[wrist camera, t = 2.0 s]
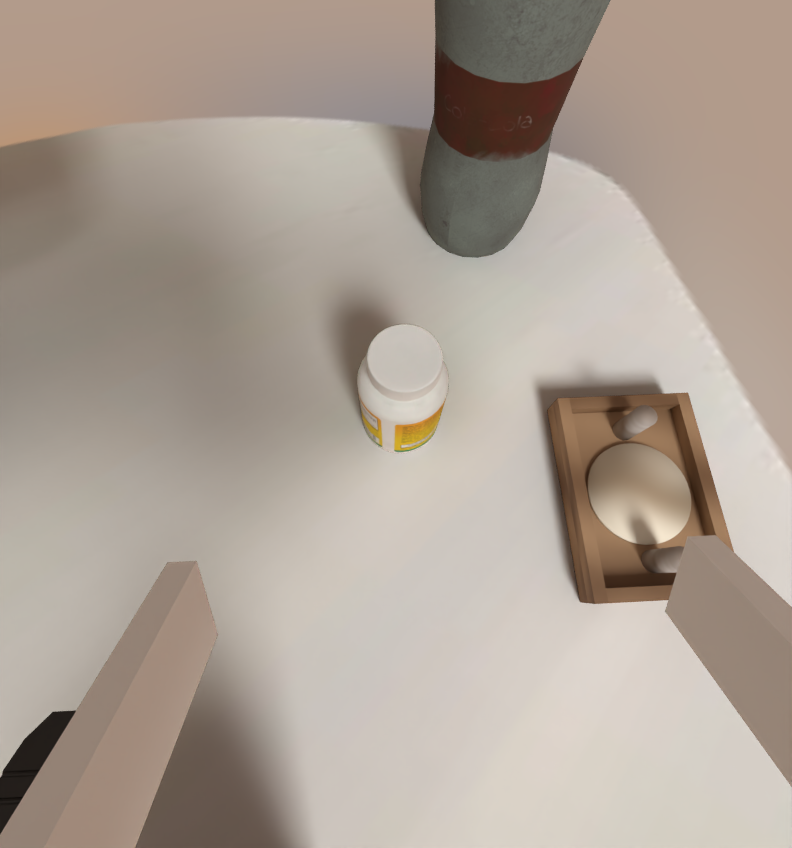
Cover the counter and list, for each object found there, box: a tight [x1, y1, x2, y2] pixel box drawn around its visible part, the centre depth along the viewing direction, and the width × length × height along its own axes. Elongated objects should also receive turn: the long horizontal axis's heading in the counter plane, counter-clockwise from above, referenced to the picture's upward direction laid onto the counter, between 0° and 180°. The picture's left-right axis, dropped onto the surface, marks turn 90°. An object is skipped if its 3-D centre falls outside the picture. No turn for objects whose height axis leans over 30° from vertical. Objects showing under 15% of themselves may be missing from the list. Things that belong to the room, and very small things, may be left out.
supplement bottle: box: [357, 324, 449, 453], centre depth 28 cm, size 5×5×10 cm
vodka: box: [420, 0, 610, 258], centre depth 24 cm, size 9×9×30 cm
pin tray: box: [547, 393, 734, 604], centre depth 28 cm, size 13×9×4 cm
